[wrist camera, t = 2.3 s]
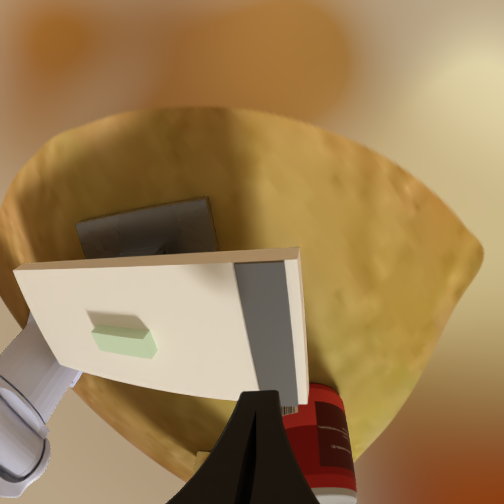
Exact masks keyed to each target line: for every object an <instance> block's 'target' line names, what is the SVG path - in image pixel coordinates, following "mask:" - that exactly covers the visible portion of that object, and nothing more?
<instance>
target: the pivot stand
mask: <svg viewBox="0 0 504 504" xmlns="http://www.w3.org/2000/svg"><path fill="white" fill-rule="evenodd" d="M75 226H76V229H77V232H78V236H79V239H80V242H81V245H82V248H83V251H84V254H85V257H86V259H102V258H118V257H135V256H152V255H169V254H186V253H203V252H219V247H218V243H217V238H216V233H215V228H214V223H213V218H212V213H211V208H210V203H209V198H208V196H207V197H201V198H194V199H188V200H182V201H177V202H171V203H165V204H160V205H154V206H149V207H144V208H139V209H134V210H129V211H124V212H119V213H114V214H109V215H105V216H100V217H95V218H91V219H87V220H82V221H80V222H78V223H76V224H75Z"/></svg>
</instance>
